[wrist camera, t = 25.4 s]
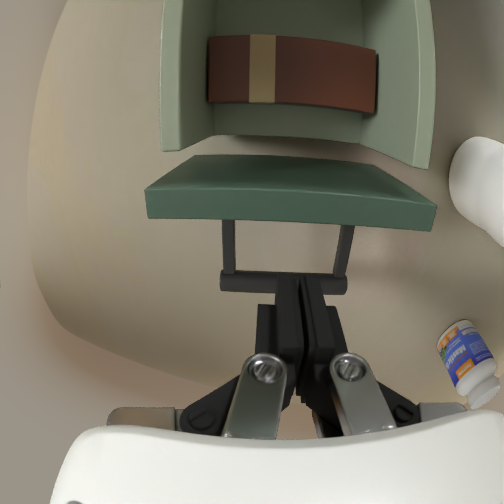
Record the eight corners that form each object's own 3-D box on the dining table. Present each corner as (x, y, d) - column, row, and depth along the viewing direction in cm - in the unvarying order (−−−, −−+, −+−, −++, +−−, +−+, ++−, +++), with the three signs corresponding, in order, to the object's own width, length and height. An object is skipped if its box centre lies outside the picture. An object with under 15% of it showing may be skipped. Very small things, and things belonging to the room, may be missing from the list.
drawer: (357, 256, 19) (394, 332, 12) (199, 250, 19) (167, 327, 13) (376, -3, 10) (432, -48, 3) (198, -16, 10) (157, -76, 3)
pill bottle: (445, 321, 23) (483, 389, 15) (477, 315, 23) (514, 374, 14) (429, 354, 26) (456, 419, 17) (460, 347, 26) (489, 404, 17)
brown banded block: (357, 113, 13) (374, 114, 11) (217, 104, 14) (207, 103, 11) (359, 57, 12) (376, 48, 9) (218, 47, 12) (209, 35, 10)
